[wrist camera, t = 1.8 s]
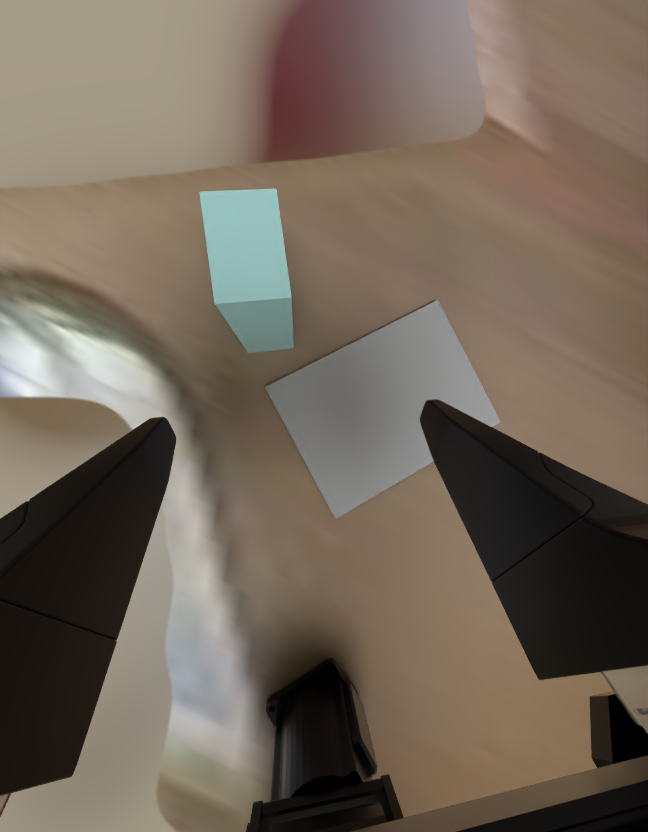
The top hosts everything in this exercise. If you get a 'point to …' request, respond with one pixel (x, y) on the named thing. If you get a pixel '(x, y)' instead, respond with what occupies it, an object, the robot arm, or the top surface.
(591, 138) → the top surface
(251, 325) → the mint green pillar
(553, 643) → the robot arm
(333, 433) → the placemat
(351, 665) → the top surface
